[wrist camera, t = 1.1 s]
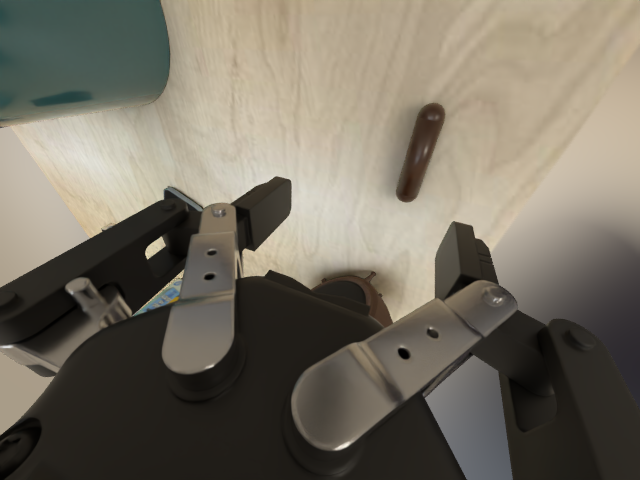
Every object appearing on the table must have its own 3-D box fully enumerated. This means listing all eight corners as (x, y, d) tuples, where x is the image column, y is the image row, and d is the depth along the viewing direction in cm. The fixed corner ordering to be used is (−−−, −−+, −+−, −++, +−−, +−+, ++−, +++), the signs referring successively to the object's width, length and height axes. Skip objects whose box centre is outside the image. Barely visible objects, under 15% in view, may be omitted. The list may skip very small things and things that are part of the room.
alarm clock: (386, 257, 32) (341, 428, 17) (404, 295, 35) (379, 473, 20) (303, 272, 40) (223, 397, 25) (323, 302, 43) (262, 431, 28)
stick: (418, 100, 21) (426, 104, 19) (443, 102, 21) (453, 106, 19) (392, 195, 26) (395, 205, 25) (411, 196, 26) (417, 207, 25)
